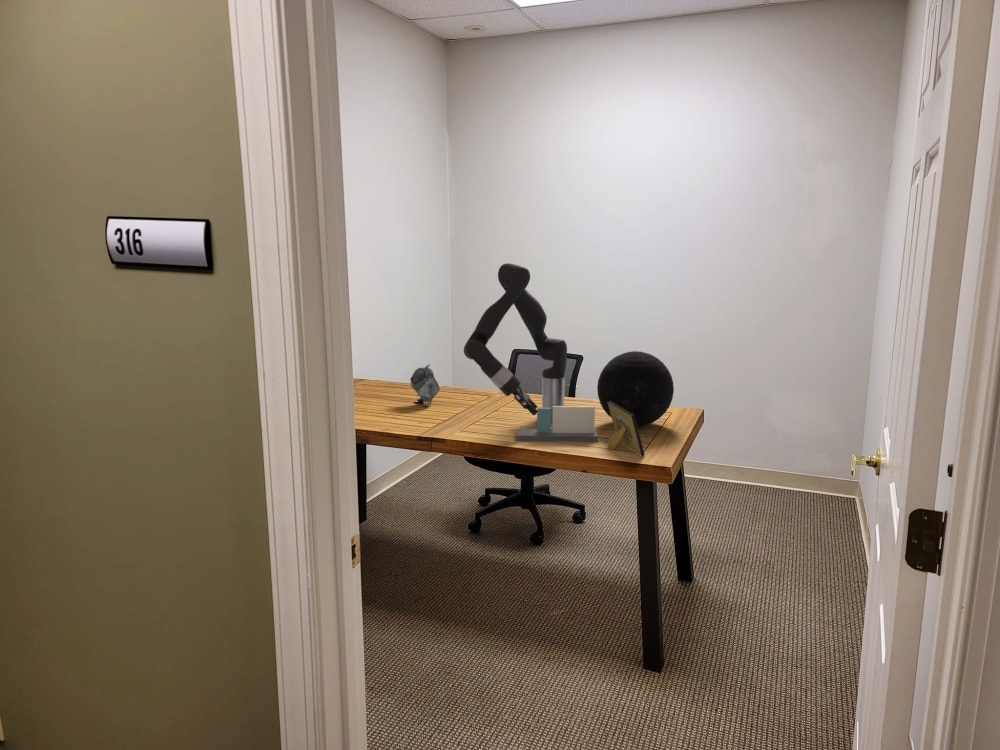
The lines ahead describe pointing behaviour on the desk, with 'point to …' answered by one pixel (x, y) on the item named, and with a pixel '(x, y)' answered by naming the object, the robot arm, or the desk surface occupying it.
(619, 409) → the picture frame
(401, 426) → the desk surface
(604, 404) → the fuzzy black sphere
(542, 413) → the stub
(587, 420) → the sliding block rail
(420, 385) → the grey bird figurine
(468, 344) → the robot arm
